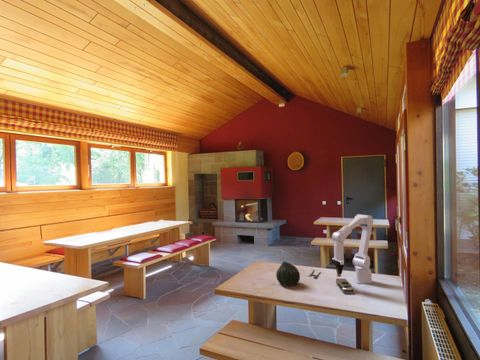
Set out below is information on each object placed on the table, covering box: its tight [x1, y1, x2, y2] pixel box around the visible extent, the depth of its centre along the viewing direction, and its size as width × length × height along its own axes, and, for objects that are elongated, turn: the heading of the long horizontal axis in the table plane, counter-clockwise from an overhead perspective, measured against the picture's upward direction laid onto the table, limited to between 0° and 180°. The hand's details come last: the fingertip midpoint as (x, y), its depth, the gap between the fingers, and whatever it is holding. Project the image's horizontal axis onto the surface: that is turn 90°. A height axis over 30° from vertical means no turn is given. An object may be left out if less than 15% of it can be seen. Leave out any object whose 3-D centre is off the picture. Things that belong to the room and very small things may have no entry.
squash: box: [275, 261, 301, 287], centre depth 195 cm, size 14×15×15 cm
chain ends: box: [335, 278, 355, 295], centre depth 184 cm, size 6×17×4 cm, turn 178°
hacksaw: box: [309, 268, 322, 280], centre depth 216 cm, size 24×10×2 cm, turn 152°
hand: (339, 273), depth 187 cm, fingers closed on brass pin, 2 cm apart
